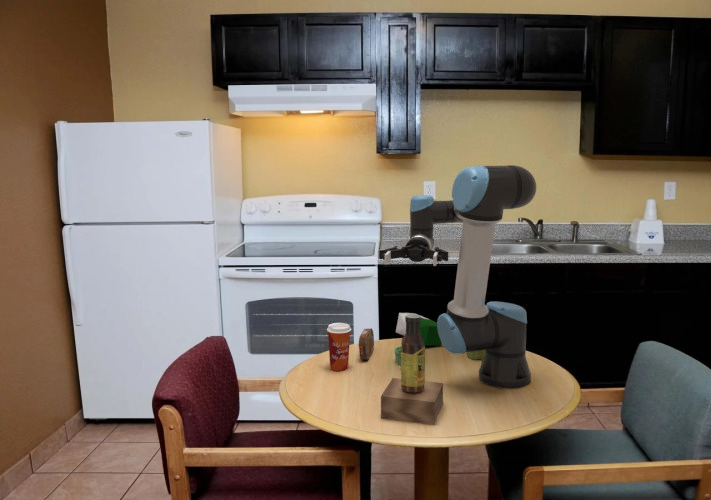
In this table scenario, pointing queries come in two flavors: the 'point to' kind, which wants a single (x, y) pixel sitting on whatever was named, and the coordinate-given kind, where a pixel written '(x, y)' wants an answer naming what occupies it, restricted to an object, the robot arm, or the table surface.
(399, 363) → the ramekin
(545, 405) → the table surface
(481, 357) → the plant pot
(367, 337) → the tin
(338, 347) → the paper cup
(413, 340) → the sauce bottle
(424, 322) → the milk carton
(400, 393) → the walnut block
